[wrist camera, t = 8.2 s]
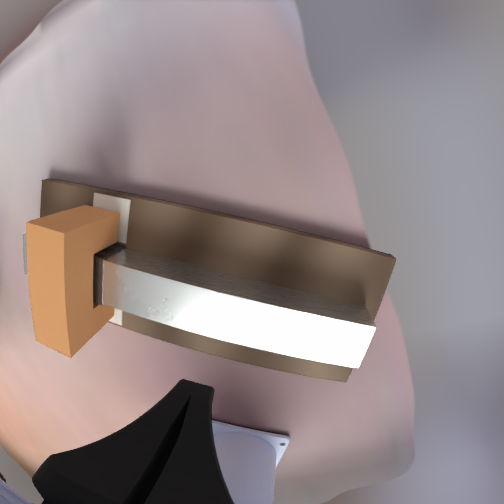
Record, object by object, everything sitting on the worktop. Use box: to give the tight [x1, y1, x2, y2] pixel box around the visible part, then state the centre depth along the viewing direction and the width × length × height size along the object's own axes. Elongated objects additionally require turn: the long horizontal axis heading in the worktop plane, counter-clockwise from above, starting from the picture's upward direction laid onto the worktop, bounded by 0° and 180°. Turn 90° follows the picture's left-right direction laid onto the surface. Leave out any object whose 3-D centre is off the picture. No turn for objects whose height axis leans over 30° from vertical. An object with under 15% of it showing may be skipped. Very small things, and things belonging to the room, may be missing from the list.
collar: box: [26, 205, 120, 358], centre depth 17 cm, size 3×8×6 cm, turn 168°
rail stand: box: [23, 179, 396, 382], centre depth 19 cm, size 26×10×4 cm, turn 78°
